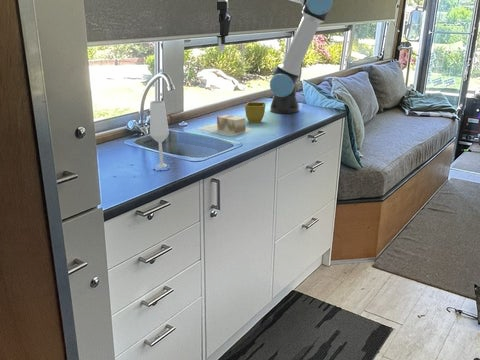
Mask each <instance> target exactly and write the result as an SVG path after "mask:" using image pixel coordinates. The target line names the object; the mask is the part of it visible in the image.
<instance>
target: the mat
mask: <svg viewBox="0 0 480 360" xmlns="http://www.w3.org/2000/svg"><path fill="white" fill-rule="evenodd" d="M195 129H197V130H201V131H206V132H210V133H214V134H219V135H222V136H227V137H233V136H236V135H240V134H243V133H247V132H251V131H254V130H255V128H254V129H253V128H250V127H246V126H245V129H246V131H244V132H241V133H237V134H235V133H231V132H227V131H222V130H218V129H217V123H212V124H208V125H205V126H200V127H197V128H195Z"/></svg>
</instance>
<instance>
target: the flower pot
mask: <svg viewBox="0 0 480 360" xmlns="http://www.w3.org/2000/svg"><path fill="white" fill-rule="evenodd" d="M244 108H245V110H244V111H245V118H246V119H247V121H248V123H256V124H257V123H260V124H261V121H263V118H264V116H265V113H266V112H265V111H266V102H253V101H248V102H247V103H246V104H245V105H244Z"/></svg>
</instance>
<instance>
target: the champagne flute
mask: <svg viewBox="0 0 480 360" xmlns="http://www.w3.org/2000/svg"><path fill="white" fill-rule="evenodd" d="M149 104H150V105H149V106H150V107H149V136H150V137H151V138H152V139H153V140H154V141H155V142H156V143H158V154H159V155H158V156H159V157H158V158H159V163H158V164H157V165H155V166H156V167H159V168H162V167H166V166H167V165H168V164H166V163H164V154H163V153H164V152H163V142H164V141H165V140H166V139H167V138H168V137H169V134H170V129H169V123H168V117H167V110H166V103H165V101H164V100H151V101H150V103H149Z"/></svg>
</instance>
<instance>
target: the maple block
mask: <svg viewBox="0 0 480 360" xmlns="http://www.w3.org/2000/svg"><path fill="white" fill-rule="evenodd" d="M216 122H217V129H218V130H222V131H227V132H231V133H235V134H237V133H240V134H242V133H241V132H244V131H246V129H245V127H246V117H242V116H237V115H232V114H223V115H218V116H216ZM244 133H245V132H244ZM237 135H238V134H237Z"/></svg>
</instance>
